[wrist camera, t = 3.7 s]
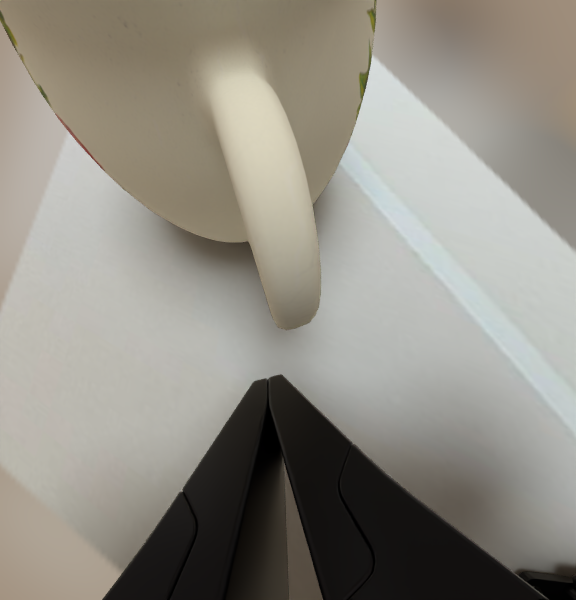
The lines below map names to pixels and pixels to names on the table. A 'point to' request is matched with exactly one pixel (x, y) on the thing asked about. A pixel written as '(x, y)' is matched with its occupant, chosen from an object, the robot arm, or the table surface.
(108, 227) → the table surface
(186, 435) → the table surface
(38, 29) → the pitcher
